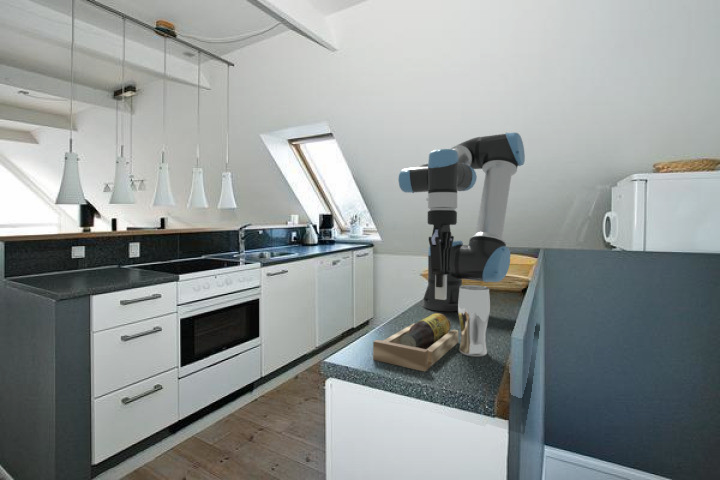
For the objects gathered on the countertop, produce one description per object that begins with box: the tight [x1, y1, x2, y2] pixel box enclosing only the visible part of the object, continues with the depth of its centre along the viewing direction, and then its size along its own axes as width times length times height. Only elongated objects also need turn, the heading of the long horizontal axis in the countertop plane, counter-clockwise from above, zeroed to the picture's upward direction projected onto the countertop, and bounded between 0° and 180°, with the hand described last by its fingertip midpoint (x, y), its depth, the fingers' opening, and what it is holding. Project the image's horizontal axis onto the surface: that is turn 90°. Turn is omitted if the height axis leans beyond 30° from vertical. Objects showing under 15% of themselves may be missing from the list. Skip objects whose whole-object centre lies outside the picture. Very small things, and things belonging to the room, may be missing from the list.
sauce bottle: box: [400, 312, 451, 349], centre depth 90 cm, size 6×6×20 cm
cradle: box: [372, 323, 459, 372], centre depth 87 cm, size 22×12×4 cm, turn 148°
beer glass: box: [457, 284, 491, 358], centre depth 85 cm, size 7×7×15 cm
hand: (440, 298), depth 99 cm, fingers closed
